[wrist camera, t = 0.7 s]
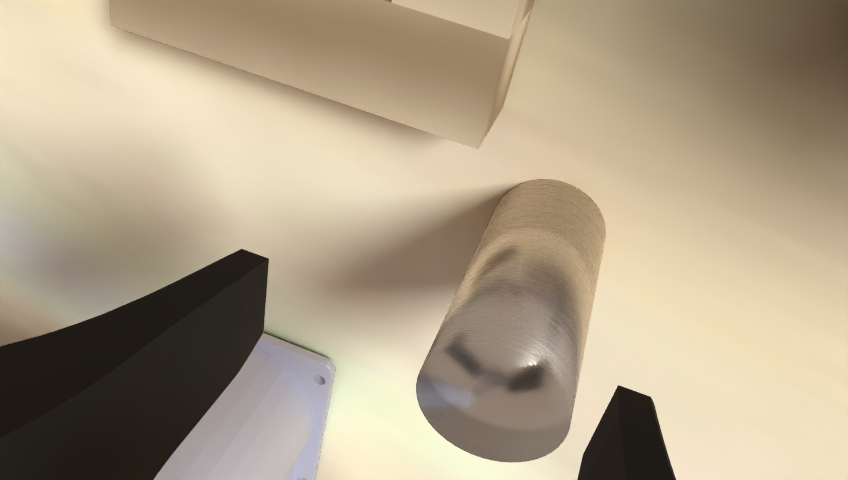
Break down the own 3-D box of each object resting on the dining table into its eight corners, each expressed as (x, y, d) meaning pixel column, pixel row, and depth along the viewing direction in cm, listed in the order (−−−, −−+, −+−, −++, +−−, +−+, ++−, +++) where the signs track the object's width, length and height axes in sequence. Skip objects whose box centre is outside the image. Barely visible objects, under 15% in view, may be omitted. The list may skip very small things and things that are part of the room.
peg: (583, 291, 23) (543, 482, 17) (481, 254, 24) (403, 426, 17) (623, 202, 21) (593, 381, 15) (509, 163, 22) (433, 321, 15)
